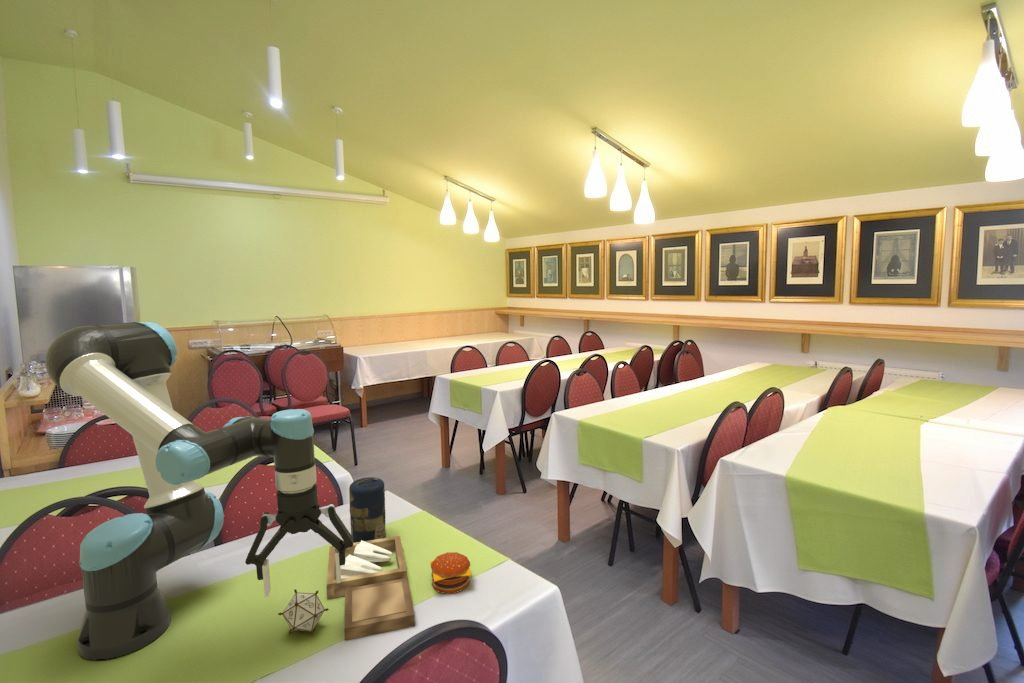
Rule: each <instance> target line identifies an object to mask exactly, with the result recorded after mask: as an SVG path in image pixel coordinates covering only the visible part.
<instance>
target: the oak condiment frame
mask: <svg viewBox="0 0 1024 683" xmlns="http://www.w3.org/2000/svg"><path fill="white" fill-rule="evenodd" d="M365 542H368V543H370V544H373V545H376V546H378V547H381V548H383V549H386V550H388V551H390V552H392V553H395V558H396V563H397V564H396V565H397V568H393V569H388V570H382V571H376V573H370V574H364V575H358V576H353V577H347V578H341V583H337V579H336V564H335V547H333V546H332V545H331V546H329V550H328V561H327V563H328V564H327V572H326V573H327V574H326V575H327V576H326V599H327V600H330V599H335V598H340V597H345V589H348V588H353V587H359V586H364V585H370V584H376V583H381V582H387V581H392V580H398V579H404V578H408V571H407V565H406V560H405V554H404V550H403V545H402V544H403V543H402V540H401V536H400V535H396V536H389V537H385V538H382V539H375V540H369V541H365ZM357 544H360V542H356V543H353V546H352V547H348V548H346V550H345V558H346V557H347V556H348V555H349V554H350V555H353V554H354V550H355V547H356V546H357ZM353 556H354V555H353Z"/></svg>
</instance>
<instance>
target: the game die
mask: <svg viewBox="0 0 1024 683" xmlns="http://www.w3.org/2000/svg"><path fill="white" fill-rule="evenodd" d="M293 593H294V595H293V597H292V598H291V599H290V601H289V603H288V604H287V605H286V607H285V608H284V609H283V612H278V613H277V615H278V616H279V617H280V616H283V618H284V620H285V621H286V623H287V625H288V627H289V629H290V630H288V634H292V633H293V632H294V631H296V632H297V631H299V632H300V631H301V632H310V634H311V635H312V636H314V634H315V632H314V629H315V627H316V626H317V624H318V622H319V620H320V619H321V617H322V616H323V614H324V612H328V611H329V610H330V609H329V608H325V607H324V605H323V604H322V601H321V599H320V598H319V596H318V594H319V590H318V589H317V590H315V593H313V592H310V593H309V592H298V590H297V589H295V588H294V592H293Z"/></svg>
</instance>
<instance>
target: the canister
mask: <svg viewBox="0 0 1024 683" xmlns="http://www.w3.org/2000/svg"><path fill="white" fill-rule="evenodd" d="M348 492H349V515H350V518H349V519H350V521H349V522H350V534H351V536H352V537H353V543H356V542H361V540H362V541H369V540H375V539H382V538H386V535H387V531H386V530H387V529H386V495H385V494H386V493H385V481H384V480H382V479H381V478H379V477H362V478H358V479H356V480H354V481H353V482H352V483H351V484H349V488H348Z"/></svg>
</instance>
